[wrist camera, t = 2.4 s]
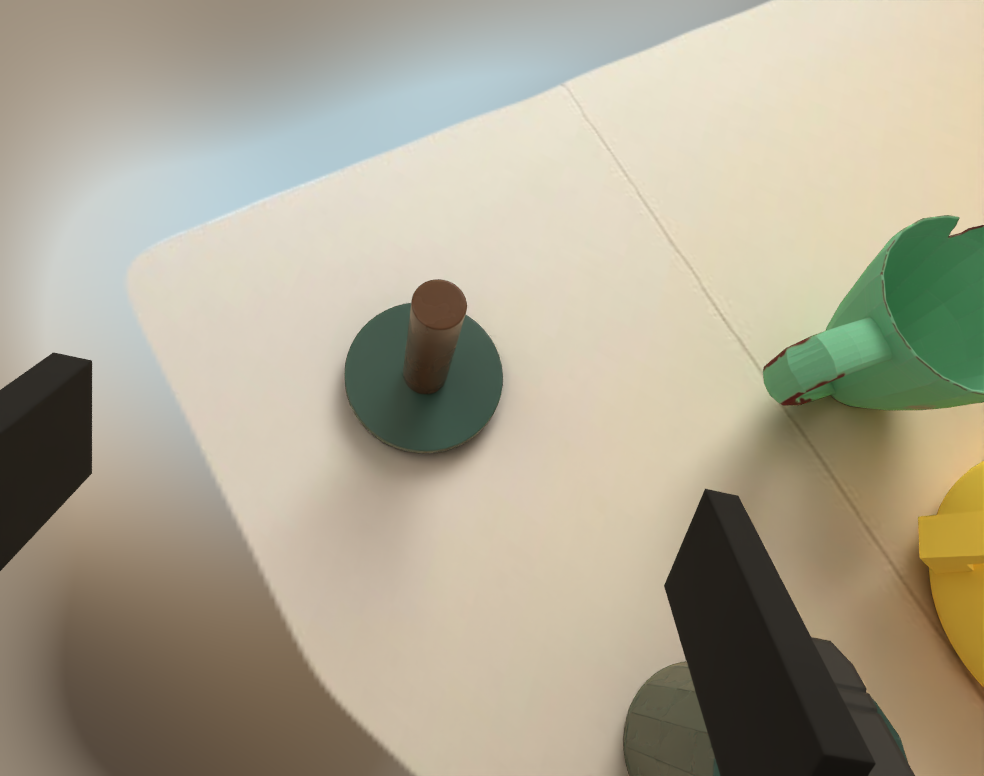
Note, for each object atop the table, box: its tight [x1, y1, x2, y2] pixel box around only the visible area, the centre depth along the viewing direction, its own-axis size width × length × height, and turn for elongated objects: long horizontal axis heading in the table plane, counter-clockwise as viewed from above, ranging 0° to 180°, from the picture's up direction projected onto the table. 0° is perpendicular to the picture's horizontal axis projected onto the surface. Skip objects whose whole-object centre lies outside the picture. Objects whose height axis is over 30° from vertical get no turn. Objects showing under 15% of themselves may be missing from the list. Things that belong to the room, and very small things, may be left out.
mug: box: [763, 215, 984, 410], centre depth 41 cm, size 15×10×10 cm
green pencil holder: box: [624, 662, 908, 776], centre depth 33 cm, size 8×8×10 cm
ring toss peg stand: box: [345, 279, 503, 453], centre depth 37 cm, size 9×9×10 cm
